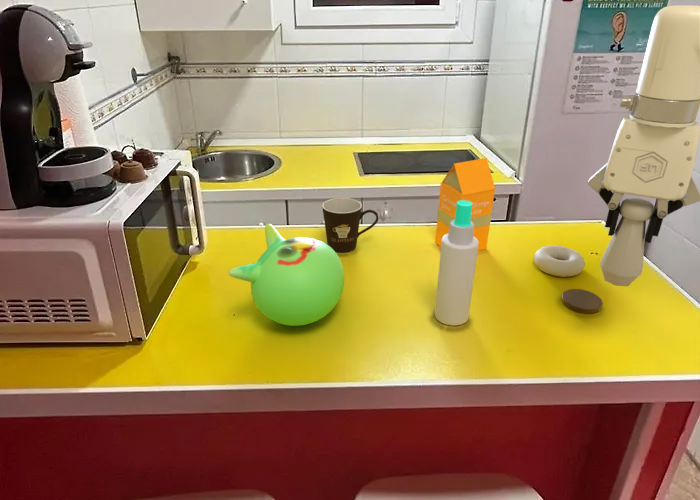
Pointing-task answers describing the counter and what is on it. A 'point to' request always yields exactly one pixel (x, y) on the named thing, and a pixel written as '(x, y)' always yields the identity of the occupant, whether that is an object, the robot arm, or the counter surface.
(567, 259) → the donut
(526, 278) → the counter surface
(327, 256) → the toy bird
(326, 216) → the coffee mug
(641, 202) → the salt shaker
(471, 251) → the spray bottle
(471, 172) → the orange juice
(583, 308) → the coaster
